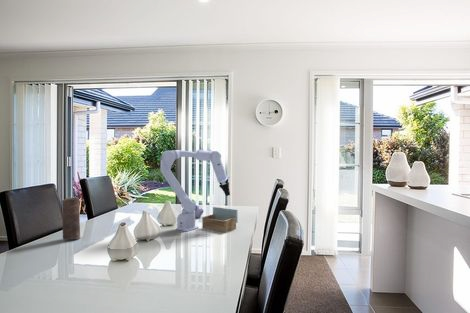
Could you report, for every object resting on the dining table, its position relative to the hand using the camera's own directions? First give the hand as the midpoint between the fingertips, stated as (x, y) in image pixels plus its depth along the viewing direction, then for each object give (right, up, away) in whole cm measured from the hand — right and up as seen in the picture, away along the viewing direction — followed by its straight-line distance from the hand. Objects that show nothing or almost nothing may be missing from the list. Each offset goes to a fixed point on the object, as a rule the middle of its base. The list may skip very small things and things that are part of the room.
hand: (227, 193), depth 174 cm
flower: (-21, -18, +18) cm, 33 cm away
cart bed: (-5, -18, -8) cm, 20 cm away
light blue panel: (-2, -15, -4) cm, 15 cm away
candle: (-74, -19, -27) cm, 81 cm away
